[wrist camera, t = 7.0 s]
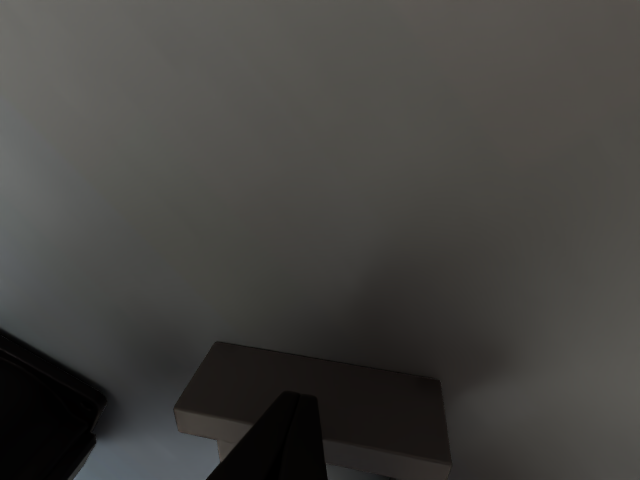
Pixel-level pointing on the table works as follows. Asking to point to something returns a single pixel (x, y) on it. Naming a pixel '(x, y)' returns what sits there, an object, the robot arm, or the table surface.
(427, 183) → the table surface
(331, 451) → the chair
